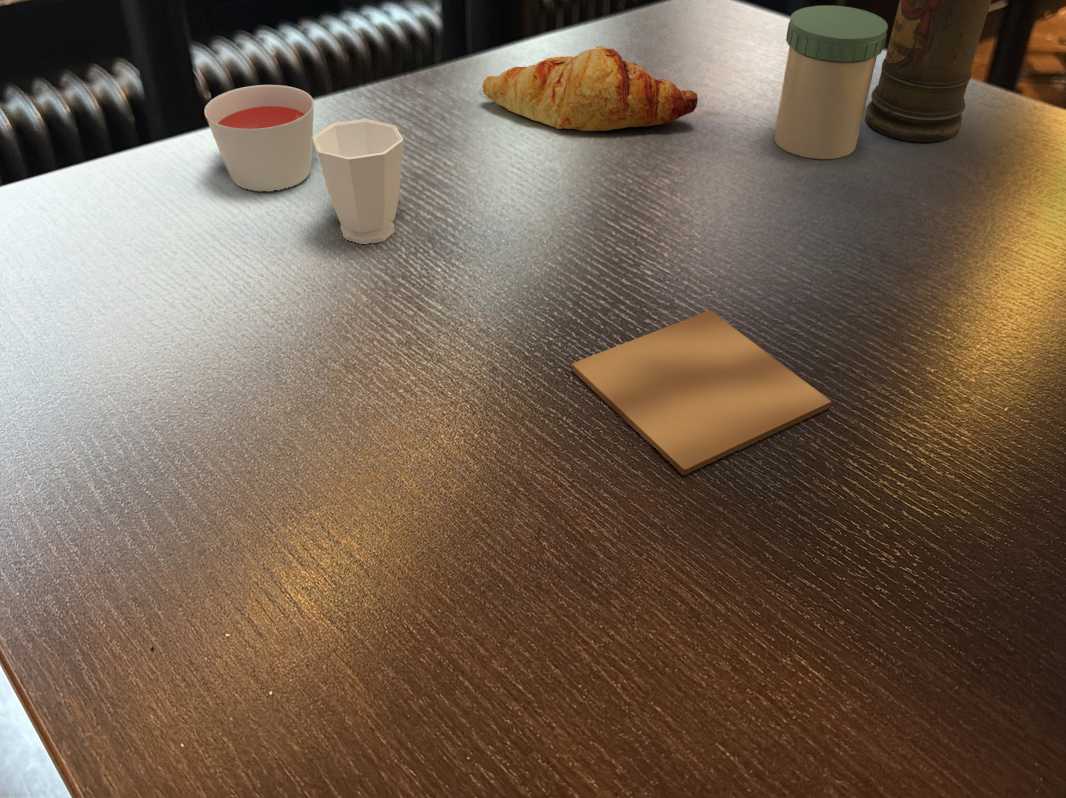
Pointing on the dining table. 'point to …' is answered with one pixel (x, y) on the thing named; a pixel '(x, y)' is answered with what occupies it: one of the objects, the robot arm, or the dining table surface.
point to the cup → (362, 176)
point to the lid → (836, 33)
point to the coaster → (699, 390)
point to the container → (927, 69)
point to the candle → (264, 135)
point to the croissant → (589, 93)
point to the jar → (822, 105)
